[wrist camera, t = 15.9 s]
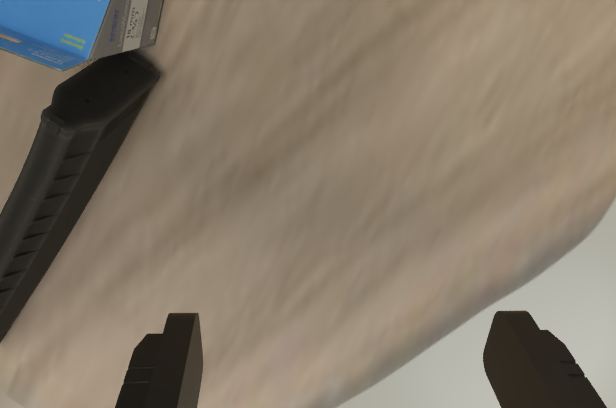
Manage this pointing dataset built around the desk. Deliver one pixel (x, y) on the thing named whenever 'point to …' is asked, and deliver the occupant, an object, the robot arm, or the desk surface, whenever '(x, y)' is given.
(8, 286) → the black tall piece
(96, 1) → the label tape cartridge
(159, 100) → the desk surface
